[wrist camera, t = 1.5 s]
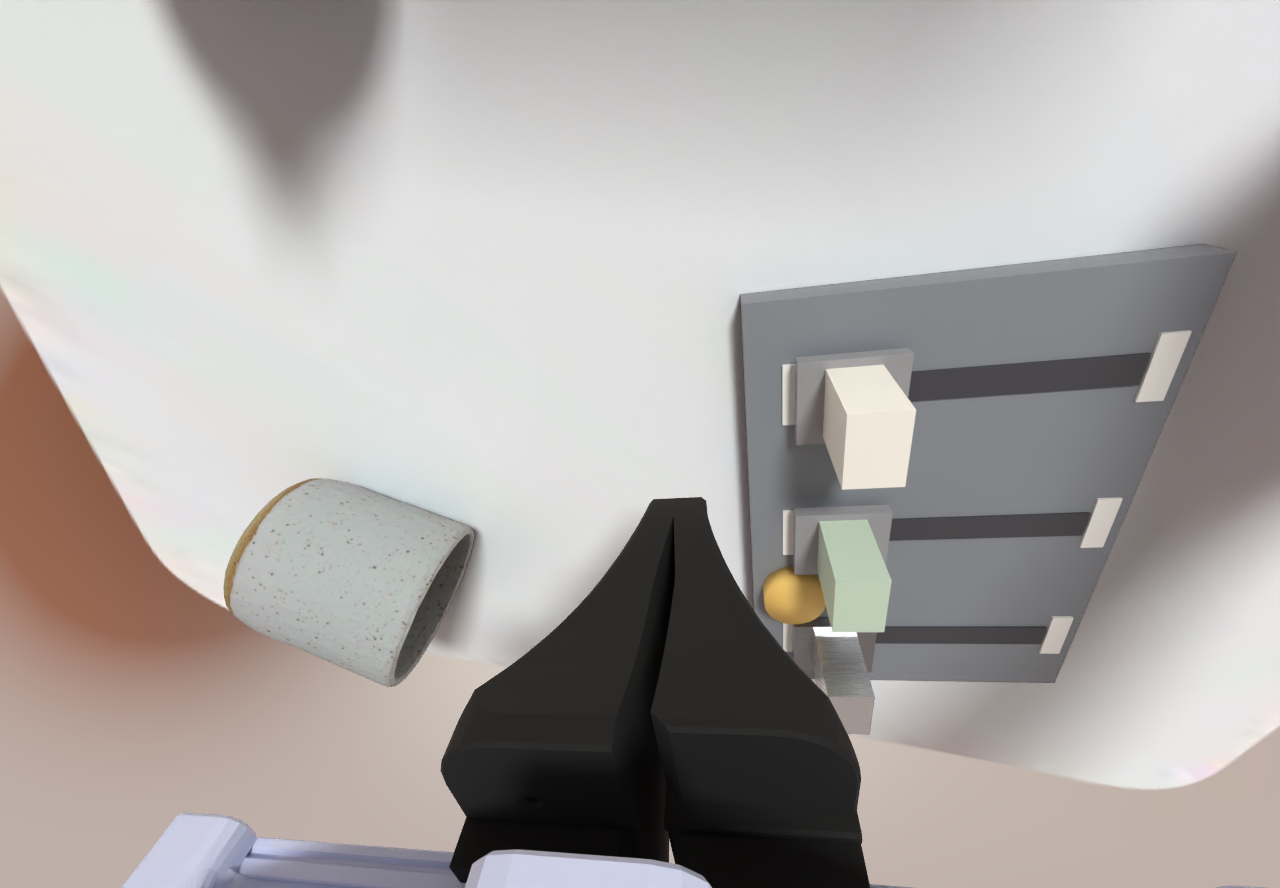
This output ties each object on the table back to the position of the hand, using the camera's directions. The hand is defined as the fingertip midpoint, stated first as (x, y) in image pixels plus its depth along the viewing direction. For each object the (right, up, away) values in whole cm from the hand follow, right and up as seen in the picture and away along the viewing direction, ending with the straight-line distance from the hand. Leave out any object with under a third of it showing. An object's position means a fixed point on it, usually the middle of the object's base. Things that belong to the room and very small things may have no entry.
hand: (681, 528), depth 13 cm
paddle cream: (+6, +4, +5) cm, 9 cm away
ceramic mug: (-13, -3, +14) cm, 19 cm away
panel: (+11, -1, +9) cm, 14 cm away
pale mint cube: (+7, -2, +8) cm, 11 cm away
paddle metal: (+8, -7, +11) cm, 16 cm away
